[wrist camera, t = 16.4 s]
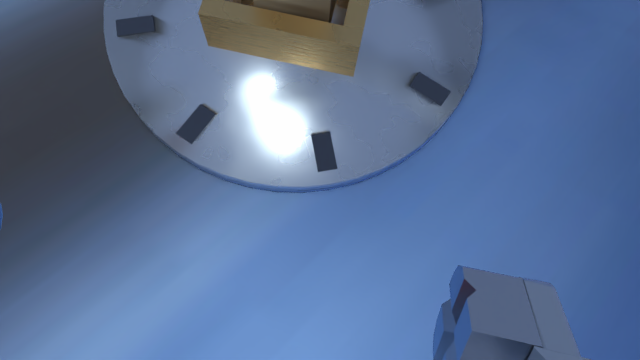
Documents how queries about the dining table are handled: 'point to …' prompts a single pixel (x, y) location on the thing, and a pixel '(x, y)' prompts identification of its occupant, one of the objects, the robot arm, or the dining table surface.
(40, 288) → the dining table surface
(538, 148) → the dining table surface
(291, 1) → the tall beige block
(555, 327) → the robot arm
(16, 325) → the dining table surface
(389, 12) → the slotted white disc
